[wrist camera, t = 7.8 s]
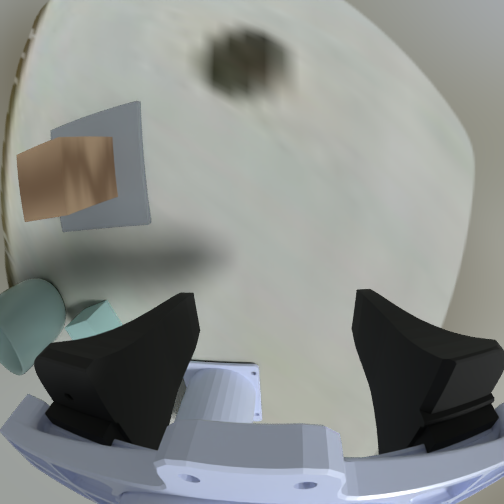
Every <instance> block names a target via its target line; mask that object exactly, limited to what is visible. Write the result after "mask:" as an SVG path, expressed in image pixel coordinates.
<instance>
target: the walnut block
mask: <svg viewBox="0 0 504 504" xmlns="http://www.w3.org/2000/svg"><path fill="white" fill-rule="evenodd" d="M17 168H18V179H19V187H20V195H21V202H22V208H23V214H24V220H25V222H28V221H34V220H40V219H47V218H53V217H60V216H67V215H70V214H72V213H75V212H77V211H80V210H82V209H85V208H88V207H90V206H93V205H96V204H99V203H101V202H104V201H107V200H110V199H113V198H116V197H118V192H117V184H116V175H115V165H114V153H113V138H112V137H97V136H84V137H58V138H55V139H53V140H50V141H48V142H45V143H43V144H40V145H38V146H36V147H33V148H31V149H29V150H27V151H24V152H22V153H20V154H18V155H17Z"/></svg>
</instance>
